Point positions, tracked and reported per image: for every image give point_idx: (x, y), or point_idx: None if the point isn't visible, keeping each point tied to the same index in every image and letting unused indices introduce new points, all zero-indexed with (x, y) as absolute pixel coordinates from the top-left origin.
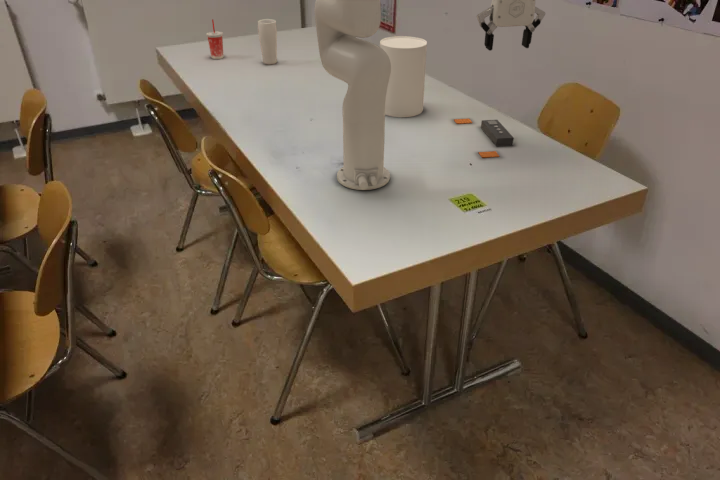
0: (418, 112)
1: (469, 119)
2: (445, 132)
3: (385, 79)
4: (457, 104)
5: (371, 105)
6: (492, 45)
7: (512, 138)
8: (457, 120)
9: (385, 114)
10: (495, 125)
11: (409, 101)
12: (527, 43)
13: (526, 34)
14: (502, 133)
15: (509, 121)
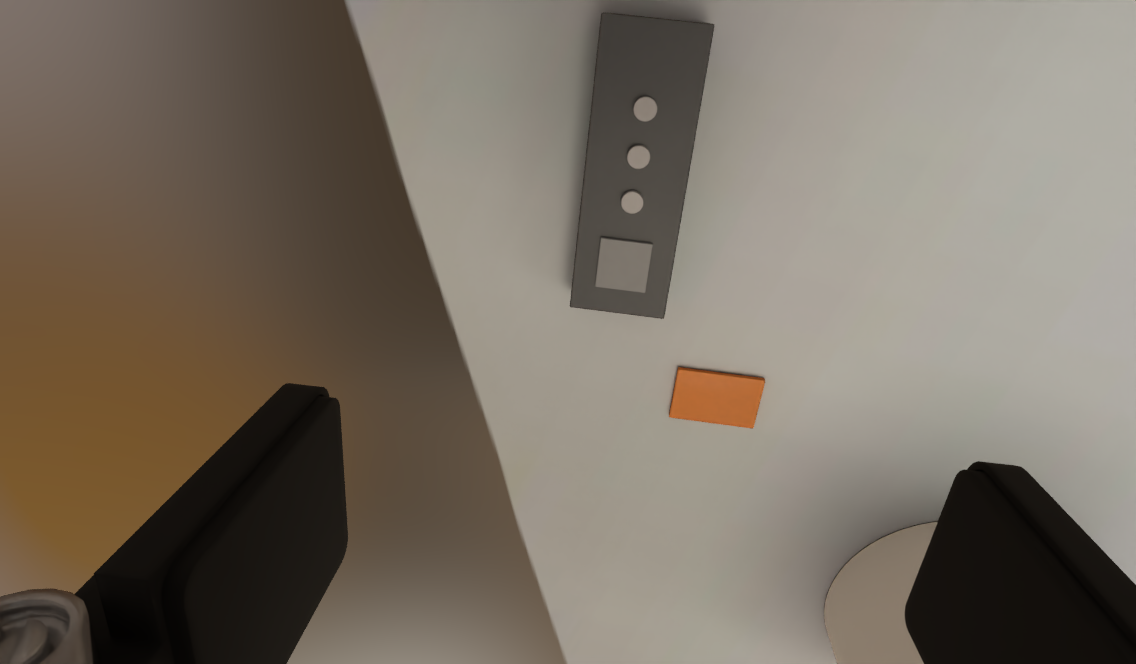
0: (896, 540)
1: (675, 404)
2: (886, 293)
3: None
4: (634, 584)
5: None
6: (1012, 515)
7: (609, 14)
8: (743, 410)
9: None
10: (621, 227)
11: None
12: (287, 429)
13: (227, 602)
14: (640, 97)
15: (471, 338)
